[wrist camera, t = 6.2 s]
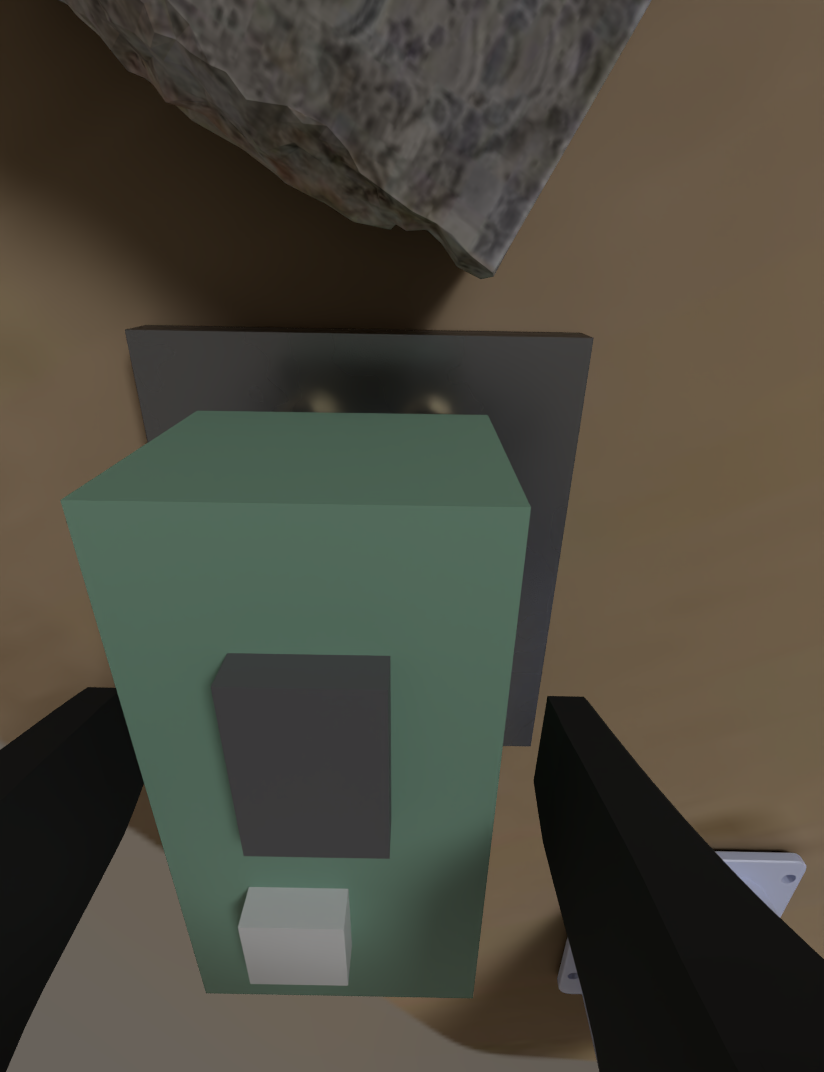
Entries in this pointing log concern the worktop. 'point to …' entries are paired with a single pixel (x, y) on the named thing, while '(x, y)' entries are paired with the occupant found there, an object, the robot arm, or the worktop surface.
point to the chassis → (401, 388)
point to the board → (315, 684)
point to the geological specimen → (386, 97)
